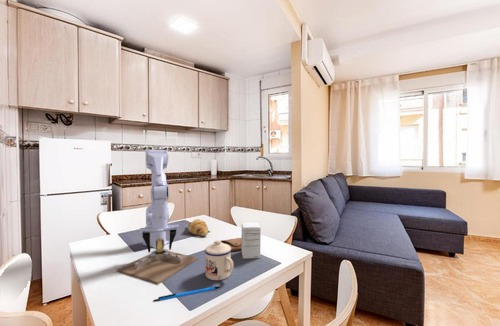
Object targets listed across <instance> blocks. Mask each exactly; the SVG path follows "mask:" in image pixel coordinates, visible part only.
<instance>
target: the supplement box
mask: <svg viewBox="0 0 500 326" xmlns="http://www.w3.org/2000/svg"><path fill="white" fill-rule="evenodd" d="M261 235H262V234H261V225H260V224H259V222H258V221H257V222H255V221H252V222H241V238H242V251H241V254H242V259H260V258H261Z"/></svg>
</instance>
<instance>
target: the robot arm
mask: <svg viewBox="0 0 500 326" xmlns="http://www.w3.org/2000/svg"><path fill="white" fill-rule="evenodd" d="M168 163H169V151H168V150H167V149H165V150H164V149H163V150H161V149H146V150H145V167H146V168H147V169H148V170H150V173H151V188H150V201H151V204H150V205H149V206H148V207H147V208H146V211H145V225H146V226H145V227H141V228H139V230H138V231H139V235H142V239H143V243H142V245H143V246H146V247H147V252H148V253H151V248H155V249H156V239H159V238H163V239H164V246H165V245H167V244H169V245H168V251H171V250H172V245H173V242H174V240H175V237H176V235H177V232H179V231H180V225H179V224H168V223H169V221H170V212H169V206H168V200H169V198H170V189H169V185H168V182H167V176H166V173H165V172H164V171H163V170H165V169H166V168H167V167H168ZM167 232H169V240H167V238H166V237H167V235H166V233H167Z"/></svg>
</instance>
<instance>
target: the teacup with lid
mask: <svg viewBox="0 0 500 326" xmlns="http://www.w3.org/2000/svg"><path fill="white" fill-rule="evenodd" d="M220 240H221V239H217V240H215V241H214V242H215V243H214V242H213V243H211V244H208V245H207V246H206V247H205V248H204V253H205V254H204V255H205V256H204V259H205V261H204V262H205V263H204V264H205V265H204V266H205V270H204V271H205V274H204V275H205V277H206V278H207V279H209V280H211V281H223V280H225V279H226V280H227V278H229V277H230V275H231V273H232V272H233V270H234V267H235V266H234V261H233V259H232V258H231V257H232V256H231V254H232V253H231V247H230V246H229V245H227V244H224V243H221V241H220Z"/></svg>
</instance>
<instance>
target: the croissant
mask: <svg viewBox="0 0 500 326" xmlns="http://www.w3.org/2000/svg"><path fill="white" fill-rule="evenodd" d="M187 229H188V232H190V233H191V234H192V235H196V236H201V237H206V236H207V235H208V233H209V228H208V226H207V223H206V221H204V220H202V219H200V218H197V219H194V220H193V221H190V222H189V223H188V227H187Z"/></svg>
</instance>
